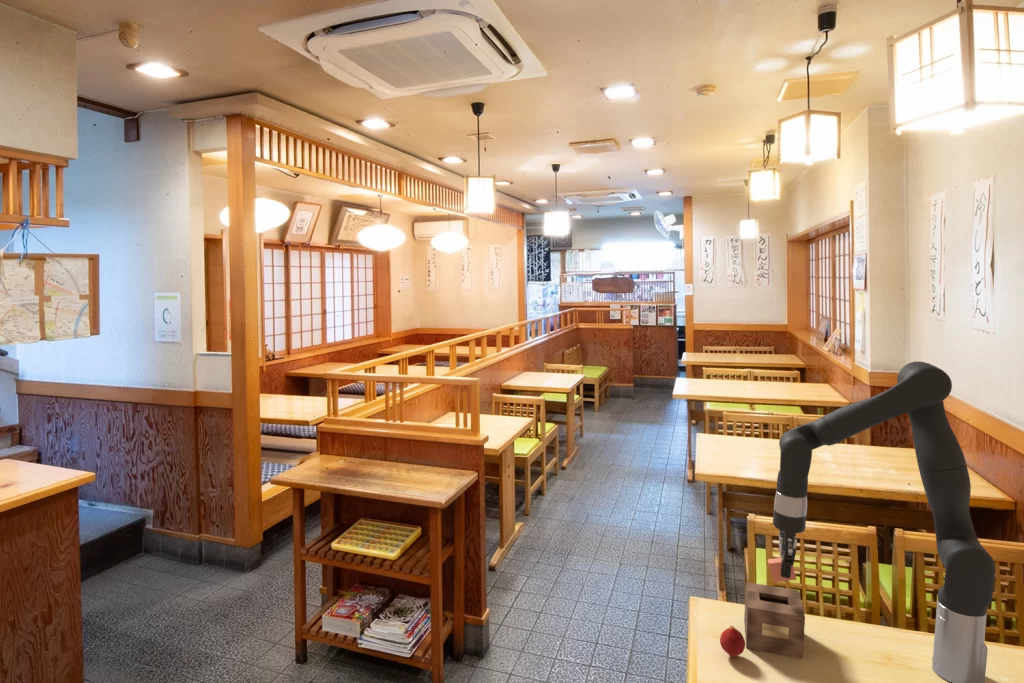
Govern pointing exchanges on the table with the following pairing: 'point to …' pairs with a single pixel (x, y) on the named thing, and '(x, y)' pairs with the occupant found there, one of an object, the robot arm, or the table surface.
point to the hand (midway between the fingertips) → (784, 574)
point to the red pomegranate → (732, 641)
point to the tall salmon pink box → (779, 570)
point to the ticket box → (774, 620)
